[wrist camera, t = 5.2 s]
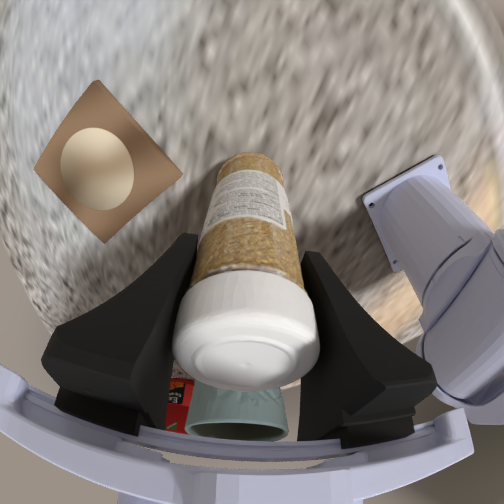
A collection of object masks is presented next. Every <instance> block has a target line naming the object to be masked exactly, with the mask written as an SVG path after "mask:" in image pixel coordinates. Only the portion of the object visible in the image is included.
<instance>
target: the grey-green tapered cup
mask: <svg viewBox="0 0 504 504" xmlns="http://www.w3.org/2000/svg"><path fill="white" fill-rule="evenodd" d="M194 383H195V385H194V388H193V396H192V399H191V402H190V407H189V411H188V416H187V420H186V424H185V431H186V432H187V433H188V434H190V435H193V436H201V437H208V438H217V439H228V440H241V441H262V442H274V441H278V440H280V439H282V438H284V437H286V436H287V435H288V432H289V430H288V424H287V419H286V413H285V406H284V400H283V396H282V393H281V389H280V387H278V388H274V389H269V390H263V391H232V390H226V389H221V388H217V387H213V386H210V385H207V384H205V383H202V382H200V381H198V380H196V379H195V382H194Z"/></svg>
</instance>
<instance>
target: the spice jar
mask: <svg viewBox="0 0 504 504" xmlns="http://www.w3.org/2000/svg"><path fill="white" fill-rule="evenodd" d="M172 352H173V356H174V358H175V360H176V362H177V364H178V365H179V366H180V367H181V368H182V370H183V371H184V372H186V373H187V374H188V375H190V376H191V377H193V378H194V379H196V380H198V381H200V382H202V383H205V384H207V385H210V386H213V387H217V388H221V389H226V390H232V391H263V390H269V389H274V388H278V387H282V386H285V385H287V384H290V383H292V382H294V381H296V380H298V379H300V378H301V377H303V376H304V375H306V374H307V373H308V372H309V371H310V370H311V369H312V368H313V367H314V365H315V364H316V362H317V360H318V357H319V353H320V342H319V335H318V328H317V323H316V317H315V312H314V308H313V304H312V302H311V300H310V298H309V297H308V294H307V292H306V291H305V289H304V283H303V278H302V272H301V266H300V261H299V256H298V251H297V246H296V240H295V236H294V231H293V221H292V216H291V212H290V207H289V203H288V199H287V195H286V193H285V190H284V188H283V176H282V173H281V171H280V169H279V167H278V166H277V165H276V164H275V163H274V162H273V161H272V160H271V159H269V158H268V157H266V156H265V155H263V154H258V153H252V152H245V153H241V154H237V155H235V156H233V157H231V158H230V159H228V160H227V161H226V162H225V163H224V164H223V165H222V167H221V168H220V170H219V172H218V176H217V184H216V188H215V190H214V192H213V195H212V198H211V202H210V205H209V208H208V212H207V215H206V219H205V222H204V226H203V229H202V233H201V236H200V240H199V243H198V248H197V259H196V262H195V266H194V271H193V275H192V278H191V282H190V286H189V287H188V289H187V291H186V294H185V295H184V297H183V298H182V300H181V303H180V306H179V310H178V314H177V318H176V323H175V328H174V333H173V339H172Z"/></svg>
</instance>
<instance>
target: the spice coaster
mask: <svg viewBox="0 0 504 504" xmlns="http://www.w3.org/2000/svg"><path fill="white" fill-rule="evenodd" d="M34 170H35V172H36V173H37V174H38V175H39V176H40V177H41V179H42V180H43V181H44V182H45V183H46V184H47V185H48V186H49V188H50V189H51V190H52V191H53V192H54V193H55V194H56V195H57V196H58V197H59V199H60V200H61V201H62V202H63V203H64V204H65V205H66V206H67V207H68V208H69V209H70V210H71V211H72V212H73V213H74V214H75V215H76V216H77V217H78V218H79V219H80V220H81V221H82V222H83V223H84V224H85V225H86V226H87V227H88V228H89V229H90V230H91V231H92V232H93V233H94V234H95V235H96V236H97V237H98V238H99V239H100V240H101V241H102V242H103V243H104V244H105V243H106V242H107V241H108V240H109V239H110V238H111V237H112V236H113V235H114V234H116V233H117V232H118V231H119V230H120V229H121V228H122V227H123V226H124V225H125V224H126V223H127V222H129V221H130V220H131V219H132V218H133V217H134V216H135V215H136V214H138V213H139V212H140V211H141V210H142V209H143V208H144V207H146V206H147V205H148V204H149V203H150V202H151V201H153V200H154V199H155V198H156V197H157V196H158V195H160V194H161V193H162V192H163V191H164V190H166V189H167V188H168V187H169V186H171V185H172V184H173V183H174V182H176V181H177V180H178V179H179V178H180V177H181V176H182V174H183V173H182V172H181V171H180V170H179V169H178V168H177V166H176V165H175V164H174V163H173V162H172V161H171V160H170V159H169V157H168V156H167V155H166V154H165V153H164V152H163V151H162V150H161V149H160V147H159V146H158V145H157V144H156V143H155V142H154V141H153V140H152V138H151V137H150V136H149V135H148V134H147V133H146V132H145V131H144V130H143V128H142V127H141V126H140V125H139V124H138V123H137V122H136V121H135V119H134V118H133V117H132V116H131V115H130V114H129V113H128V112H127V111H126V109H125V108H124V107H123V106H122V105H121V104H120V103H119V102H118V100H117V99H116V98H115V97H114V96H113V95H112V94H111V93H110V92H109V90H108V89H107V88H106V87H105V86H104V85H103V84H102V83H101V81H100V80H96V81H93V82H92V83H91V85H90V86H89V87H88V88H87V89H86V91H85V92H84V93H83V94H82V96H81V97H80V98H79V100H78V101H77V102H76V103H75V105H74V106H73V107H72V109H71V110H70V112H69V113H68V114H67V116H66V117H65V119H64V120H63V121H62V123H61V124H60V126H59V127H58V129H57V130H56V132H55V133H54V135H53V137H52V138H51V140H50V141H49V143H48V145H47V146H46V148H45V150H44V151H43V153H42V155H41V156H40V158H39V160H38V162H37V164H36V165H35V167H34Z"/></svg>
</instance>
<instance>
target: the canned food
mask: <svg viewBox="0 0 504 504" xmlns="http://www.w3.org/2000/svg"><path fill="white" fill-rule="evenodd" d="M194 385H195V383H194V381H191V380H187V379H181V378H172V379H171V382H170V389H169V397H168V406H167V415H166V426H165V431H170V432H175V433H181V434H187V435H190V434H188V433H187V432H186V431H185V424H186V420H187V416H188V411H189V407H190V402H191V399H192V396H193V388H194Z"/></svg>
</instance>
